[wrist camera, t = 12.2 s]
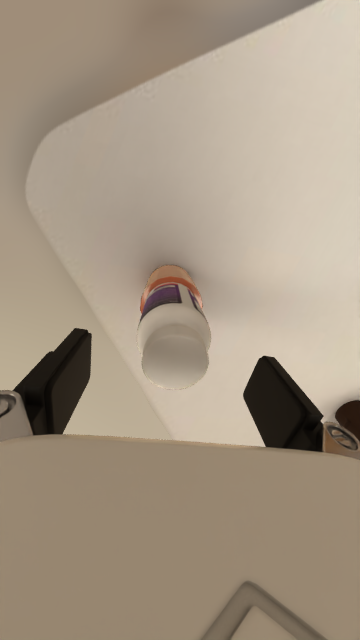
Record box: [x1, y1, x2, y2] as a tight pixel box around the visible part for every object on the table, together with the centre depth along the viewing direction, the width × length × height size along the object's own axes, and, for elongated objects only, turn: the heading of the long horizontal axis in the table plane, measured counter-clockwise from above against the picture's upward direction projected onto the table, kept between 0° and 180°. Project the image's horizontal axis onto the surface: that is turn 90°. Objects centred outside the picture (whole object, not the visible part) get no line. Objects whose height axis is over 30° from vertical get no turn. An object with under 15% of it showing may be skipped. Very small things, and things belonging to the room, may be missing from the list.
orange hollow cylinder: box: [140, 265, 203, 313], centre depth 24 cm, size 6×6×8 cm
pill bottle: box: [137, 282, 211, 390], centre depth 16 cm, size 5×5×10 cm
